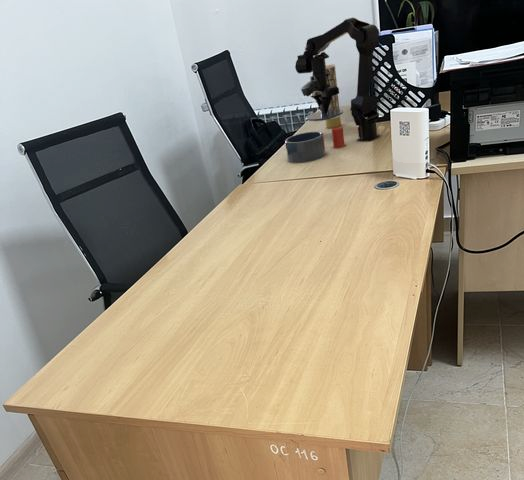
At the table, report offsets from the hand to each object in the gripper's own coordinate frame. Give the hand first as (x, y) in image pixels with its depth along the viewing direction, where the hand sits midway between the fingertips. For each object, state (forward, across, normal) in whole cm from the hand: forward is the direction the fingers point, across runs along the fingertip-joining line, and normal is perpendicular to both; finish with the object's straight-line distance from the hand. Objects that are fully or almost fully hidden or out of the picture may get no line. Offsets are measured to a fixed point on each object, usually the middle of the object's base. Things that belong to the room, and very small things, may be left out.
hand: (324, 112), depth 227 cm
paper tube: (+10, -14, +12) cm, 21 cm away
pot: (+10, +18, -20) cm, 29 cm away
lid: (+1, 0, 0) cm, 1 cm away
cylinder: (+10, +18, -5) cm, 22 cm away
